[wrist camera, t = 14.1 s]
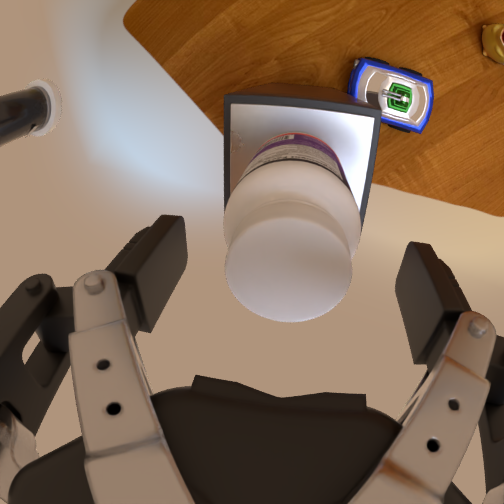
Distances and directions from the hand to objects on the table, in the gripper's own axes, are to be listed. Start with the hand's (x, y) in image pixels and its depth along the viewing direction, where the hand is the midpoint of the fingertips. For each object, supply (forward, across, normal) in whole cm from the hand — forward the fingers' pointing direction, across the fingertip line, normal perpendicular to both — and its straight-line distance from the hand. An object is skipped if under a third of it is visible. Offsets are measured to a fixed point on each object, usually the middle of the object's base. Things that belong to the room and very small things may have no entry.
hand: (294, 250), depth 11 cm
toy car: (+37, -12, -5) cm, 39 cm away
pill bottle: (+8, 0, 0) cm, 8 cm away
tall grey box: (+37, 0, 0) cm, 37 cm away
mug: (+37, -33, -19) cm, 53 cm away
